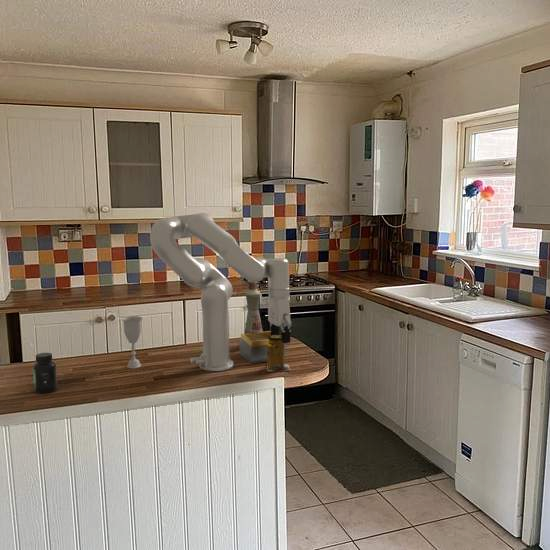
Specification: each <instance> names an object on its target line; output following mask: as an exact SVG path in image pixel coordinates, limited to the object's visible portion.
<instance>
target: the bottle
mask: <svg viewBox="0 0 550 550" xmlns="http://www.w3.org/2000/svg"><path fill="white" fill-rule="evenodd" d="M247 283H248V289H247V291H245V300H246V306H247V312H246V318H245V320H246V321H245V323H244V326H245V327H244V333H243V334H247V333H256V332H264V331H263V326H262V320H261V317H260V315H261V314H260V311H259V308H260V299H261V292H260V291H259V290H258V289H257V287H258V286H257V285H258V282H251V281H249V280H248V282H247Z"/></svg>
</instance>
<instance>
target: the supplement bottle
mask: <svg viewBox="0 0 550 550" xmlns="http://www.w3.org/2000/svg"><path fill="white" fill-rule="evenodd" d="M32 372H33V373H32V374H33V388H34V392H35V393H36V394H39V395H47V394H50V393H53V392H56V391H57V390H58V378H57V377H58V376H57V363H56V362H55V361H53V354H52V353H51V352H40V353H37V354H36V355H35V363H34V364H33V366H32Z"/></svg>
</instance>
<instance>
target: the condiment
mask: <svg viewBox="0 0 550 550" xmlns="http://www.w3.org/2000/svg"><path fill="white" fill-rule="evenodd" d="M268 342H269V343H268V354H267V355H268V360H267V361H266V362H267V365H268V369H269V370H267V369H266V371H267V372H286V371H291V367H290V365H289V364H288V363H287V364H285V359H284V344H283V343H282V339H281V334H279V335H271V336H269V341H268Z"/></svg>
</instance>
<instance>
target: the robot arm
mask: <svg viewBox="0 0 550 550" xmlns="http://www.w3.org/2000/svg"><path fill="white" fill-rule="evenodd" d="M149 234H150V235H149V240H150V242H149V243H150V245H151V247H152V250H153V251H154V253H155V254H156V255H157V256H158V257H159V259H160V260H162V261H163V263H165V264H166V265H167V267H169V269H170V270H172V272H174V273H175V274H176V275H177V276H178V277H179V278H180V279H181V280H182V281H183V282H184V283H185V284H186V285H187V286H189V287H200V289H202V291H201V293H200V305H201V312H202V348H203V349H202V350H203V351H202V352H203V353H202V352H201V354H200V355H199V356H198V357H190V359H189V360H190V364H196V365H199V368H200V369H201V370H204V371H207V372H208V371H209V372H221V371H227V370H230V369H232V368H233V367H234V364H235V361H233V360H232V359H231V358H230V316H229V315H230V314H229V300H230V299H231V297H232V295H233V291H234V289H233V285H232V283H231V282H230V280H229V279H228V278H227V277H225V275H223V274H222V272H220V271H219V270H218V269H217V268H216V267H215V266H214V265H213V264H212V263H211V262H209V261H208V260H207V259H205V258H202V257H194V256H192V255H191V254H190V253H189V252H188V251H187V249H186V248H184V247H183V246H182V245H180V244H179V243H178V242H177V240H179V239H188V238H189V239H190V238H194V239H196V240H197V241H199V242H200V244H202V245H203V246H205V247H207V248H208V249H210V250H211V251H212V252H213V253H215V254H216V255H217V256H219V258H220V259H221V260H223V262H224V263H225V264H227V266H228V267H230V268H231V269H232V270H233V271H235V272H236V273H237V274H238V275H240V276H241V277H243V278H245V279H246V280H247V281H248V282H249V281H251V282H257V283H258V282H260V281H263V279H264V278H267V280H268V281H267V285H268V286H267V289H268V302H267V303H268V304H267V306H268V307H267V314H268V315H267V320H268V322H269V326H270V331H271V335H281V339H282V343H285V344H289V343H291V331H292V330H291V329H292V321H291V309H290V308H291V307H290V299H289V298H290V297H291V295H290V293H291V292H290V263H289V260H288V259H287V258H284V257H283V258H282V257H281V258H280V257H279V258H278V257H277V258H276V257H275V258H264V257H255V258H254V257H253V256H251V255H250V254H249V253H247V252H246V251H245V250H244V249H243V248H241V247H240V246H239V244H238V243H237V240H236V238H235V237H234V236H232V234H230V233H229V232H228V231H227V230H225V229H224V228H222V227H221V226H219V225H218V224H217V223H215V220H214V218H213V217H212V216H211V215H210V214H209V213H206V212H199V213H193V214H184V215H174V216H168V217H167V216H166V217H163V218H162V217H161V218H159V219H158V220H156V221H155V222H154V223H153V225H152V227H151V229H150V233H149ZM280 328H281V333H280Z"/></svg>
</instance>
